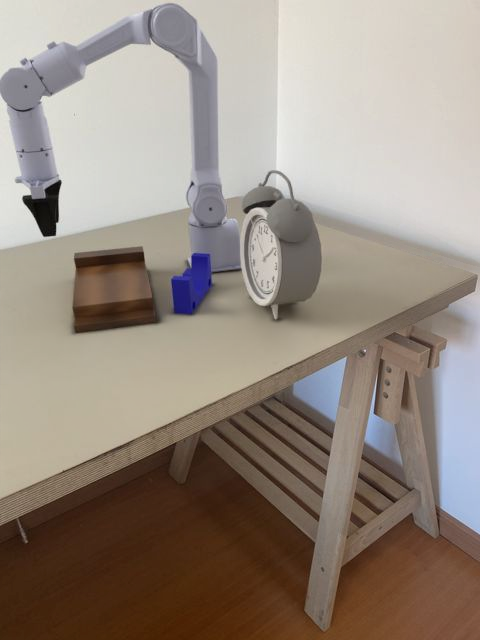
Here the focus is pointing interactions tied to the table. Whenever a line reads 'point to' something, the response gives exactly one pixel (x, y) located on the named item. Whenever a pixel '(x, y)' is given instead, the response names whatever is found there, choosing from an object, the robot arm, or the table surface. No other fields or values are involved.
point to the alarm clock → (278, 247)
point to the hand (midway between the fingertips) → (51, 229)
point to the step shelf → (111, 289)
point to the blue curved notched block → (192, 284)
